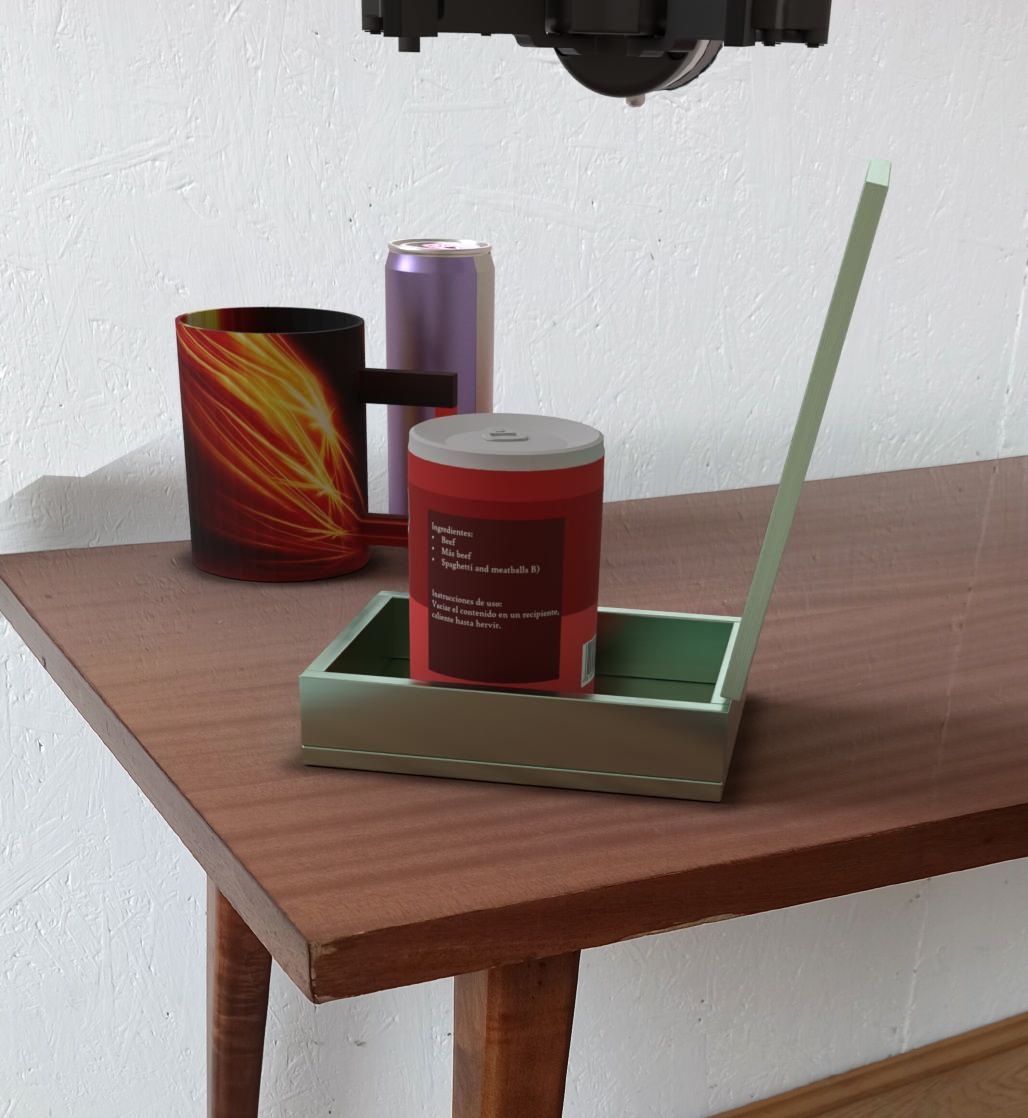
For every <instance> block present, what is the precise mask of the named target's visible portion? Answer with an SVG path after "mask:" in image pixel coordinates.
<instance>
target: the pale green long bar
mask: <svg viewBox="0 0 1028 1118" xmlns="http://www.w3.org/2000/svg"><path fill="white" fill-rule="evenodd" d="M892 164H893V163H892V161H889V160H885V159H882V158H878V157H874V156H873V157H871V158H870V160H869V164H868V168H867V171H866V175H865V177H864V182H863V185H862V189H861V192H860V196H859V200H858V201H857V206H856V210H855V213H854V217H853V220H852V224H851V228H850V230H849V235H848V239H847V242H846V245H845V249H844V252H843V256H842V260H841V263H840V265H839V266H840V267H839V270H838V274H837V277H836V282H835V284H834V288H833V291H832V295H831V299H830V302H829V306H828V310H827V313H826V316H825V320H824V322H823V327H822V331H821V334H820V338H819V342H818V345H817V348H816V351H815V356H814V359H813V363H812V367H811V370H810V374H809V377H808V380H807V381H808V382H807V383H806V386H805V392H804V395H803V399H802V401H801V405H800V409H799V413H798V416H797V420H796V423H795V426H794V430H793V433H792V434H793V435H792V436H791V441H790V445H789V448H788V452H787V454H786V459H785V462H784V466H783V469H782V473H781V476H780V480H779V483H778V487H777V492H776V493H775V498H774V500H773V501H774V502H773V505H772V508H771V512H770V516H769V519H768V521H767V526H766V530H765V533H764V536H763V540H762V544H761V548H760V550H759V555H758V558H757V562H756V565H755V569H754V572H753V576H752V580H751V584H750V586H749V590H748V594H747V598H746V601H745V605H744V608H743V612H742V615H741V617H742V618H741V622H740V625H739V629H738V633H737V636H736V640H735V643H734V647H733V650H732V654H731V657H730V661H729V665H728V668H727V672H726V675H725V679H724V682H723V686H722V689H721V693H720V697H723V698H726V699H730V700H734V701H738V702H740V701H741V698H742V695H743V691H744V688H745V684H746V681H747V682H748V680H747V677H748V678H749V674H750V670H751V667H752V663H753V660H754V656H755V653H756V650H757V646H758V643H759V639H760V635H761V632H762V628H763V625H764V622H765V619H766V615H767V613H768V612H767V611H768V608H769V605H770V600H771V597H772V594H773V591H774V588H775V584H776V581H777V577H778V573H779V570H780V566H781V563H782V559H783V556H784V553H785V549H786V546H787V542H788V539H789V535H790V532H791V528H792V524H793V522H794V518H795V515H796V511H797V507H798V505H799V500H800V497H801V494H802V491H803V488H804V487H803V486H804V483H805V479H806V477H807V472H808V469H809V466H810V463H811V459H812V454H813V452H814V448H815V445H816V442H817V438H818V434H819V431H820V427H821V424H822V420H823V418H824V415H825V410H826V407H827V403H828V401H829V397H830V393H831V390H832V386H833V382H834V379H835V376H836V372H837V369H838V366H839V362H840V359H841V356H842V352H843V349H844V345H845V341H846V338H847V334H848V330H849V327H850V324H851V321H852V317H853V313H854V310H855V306H856V303H857V300H858V296H859V293H860V290H861V285H862V283H863V278H864V277H865V276H864V275H865V271H866V269H867V265H868V261H869V258H870V254H871V251H872V247H873V244H874V240H875V237H876V234H877V231H878V226H879V223H880V219H881V216H882V213H883V210H884V206H885V202H886V200H887V199H886V198H887V195H888V193H889V189H890V181H891V172H892Z"/></svg>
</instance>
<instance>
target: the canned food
mask: <svg viewBox="0 0 1028 1118" xmlns="http://www.w3.org/2000/svg"><path fill="white" fill-rule="evenodd" d="M604 442H605V434H603V433H602V432H601V431H600V430H598V429H597V428H595V427H593V426H591V425H588V424H587V423H583V422H581V421H577V420H572V419H569V418H563V417H556V416H551V415H541V414H530V413H529V414H528V413H514V412H513V413H512V412H509V413H508V412H493V413H477V414H462V415H452V416H445V417H439V418H435V419H430V420H427V421H424V422H421V423H419V424H417V425H416V426H414V427H412V428H411V430H410V432H409V444H408V545H409V548H408V592H409V614H410V679H416V680H428V681H440V682H452V683H464V684H477V685H489V686H501V687H513V688H525V689H537V690H549V691H561V692H573V693H586V694H593V691H594V671H595V651H596V631H597V611H598V607H599V592H600V591H599V590H600V589H599V588H600V572H601V571H600V569H601V550H602V549H601V548H602V531H603V530H602V528H603V527H602V526H603V510H604V491H605V489H604V488H605V457H606V455H605V454H606V449H605V445H604V444H605V443H604Z"/></svg>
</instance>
